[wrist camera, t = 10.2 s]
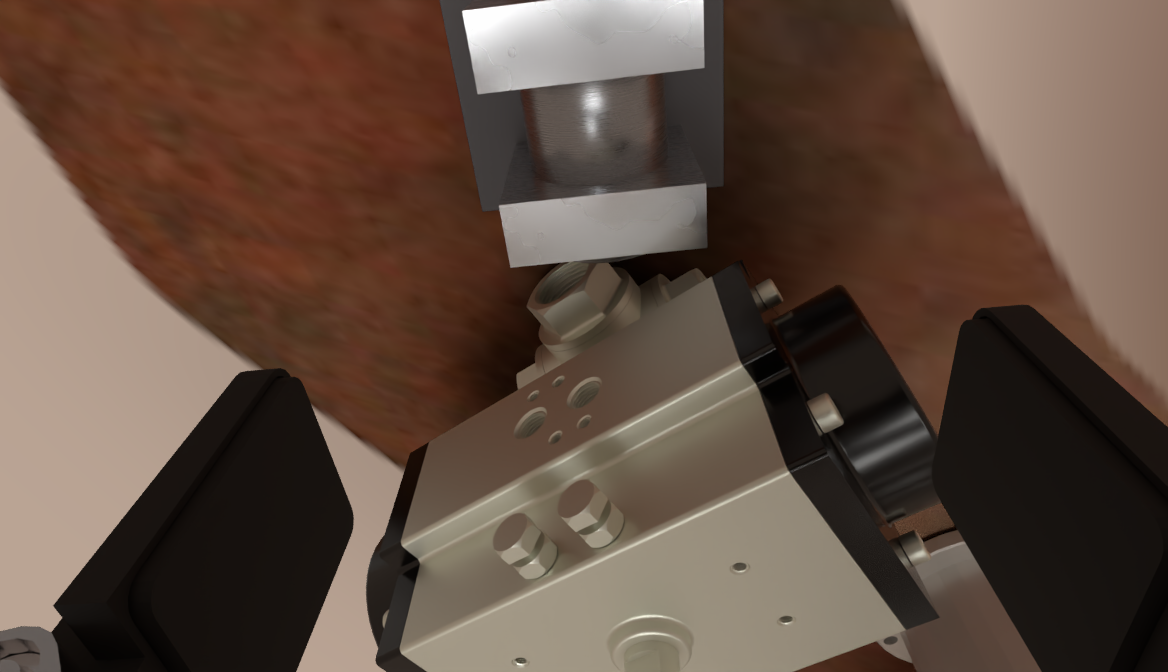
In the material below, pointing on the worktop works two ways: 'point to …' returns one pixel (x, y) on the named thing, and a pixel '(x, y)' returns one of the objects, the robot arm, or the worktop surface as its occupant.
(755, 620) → the ball valve
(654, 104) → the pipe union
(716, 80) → the joint mat
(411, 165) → the worktop surface
